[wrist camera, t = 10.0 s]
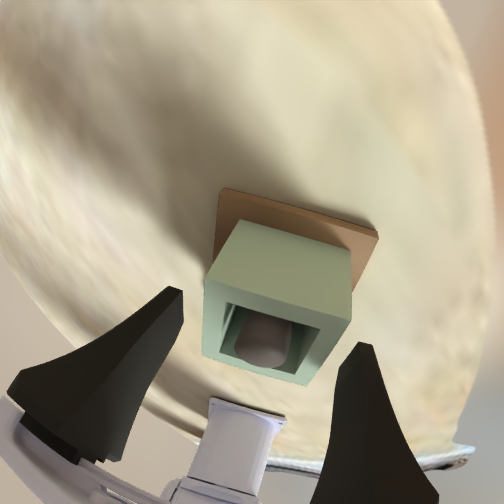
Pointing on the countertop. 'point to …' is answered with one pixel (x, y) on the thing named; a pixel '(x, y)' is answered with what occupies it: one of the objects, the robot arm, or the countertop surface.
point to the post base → (296, 222)
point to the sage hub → (278, 297)
